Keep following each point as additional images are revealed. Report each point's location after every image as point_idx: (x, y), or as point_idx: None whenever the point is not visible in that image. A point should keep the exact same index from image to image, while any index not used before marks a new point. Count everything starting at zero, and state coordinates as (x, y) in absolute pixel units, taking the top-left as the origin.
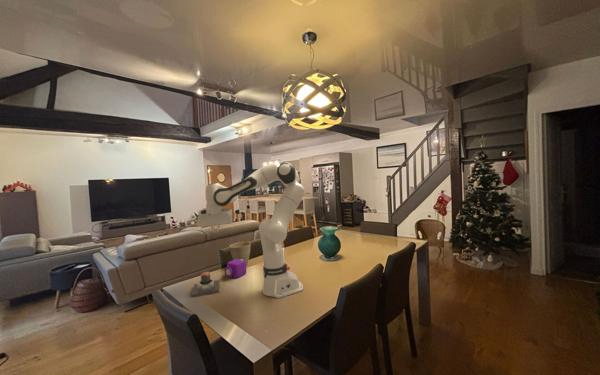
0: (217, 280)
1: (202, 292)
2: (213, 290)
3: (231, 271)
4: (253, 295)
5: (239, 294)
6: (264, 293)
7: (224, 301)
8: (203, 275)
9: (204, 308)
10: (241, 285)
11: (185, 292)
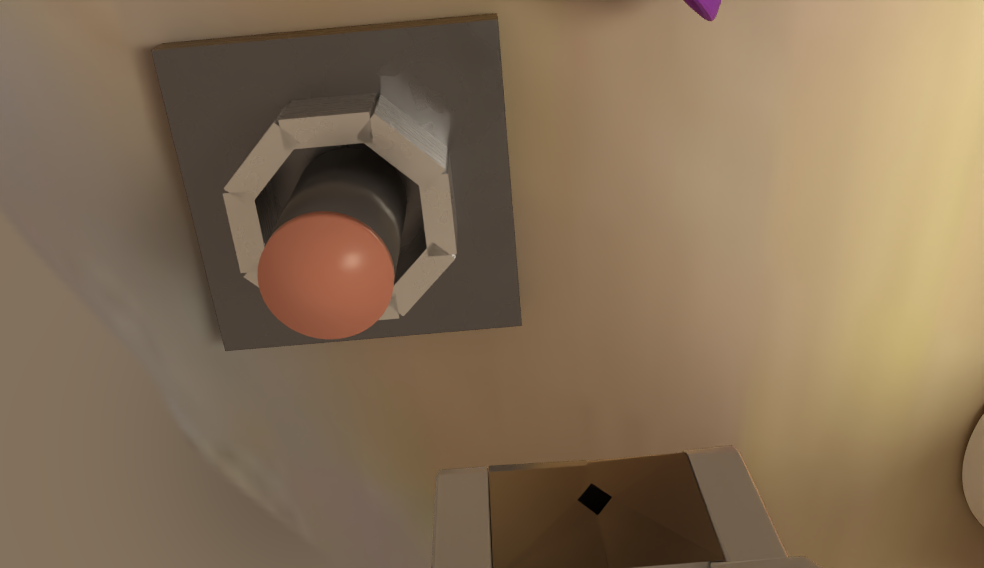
0: (474, 27)
1: (341, 339)
2: (462, 327)
3: (712, 20)
4: (864, 474)
5: (737, 419)
6: (972, 503)
7: None
8: (314, 334)
9: (423, 563)
10: (785, 214)
11: (102, 188)
